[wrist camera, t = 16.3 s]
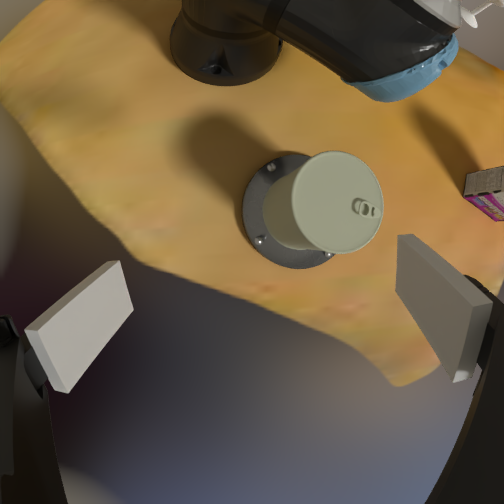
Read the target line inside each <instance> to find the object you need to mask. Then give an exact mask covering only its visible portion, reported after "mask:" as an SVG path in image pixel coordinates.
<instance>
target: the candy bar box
mask: <svg viewBox="0 0 504 504" xmlns="http://www.w3.org/2000/svg"><path fill="white" fill-rule="evenodd" d="M463 197H464V198H465V199H466V200H468V201H469V202H470V203H472V204H473V205H475V206H476V207H477V208H479V209H480V210H481V211H483V212H484V213H485V214H487V215H488V216H489V217H491V218H492V219H493V220H494V221H504V166H500V167H495V168H491V169H486V170H482V171H477V172H473V173H468V174H467V175H466V180H465V189H464V195H463Z"/></svg>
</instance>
